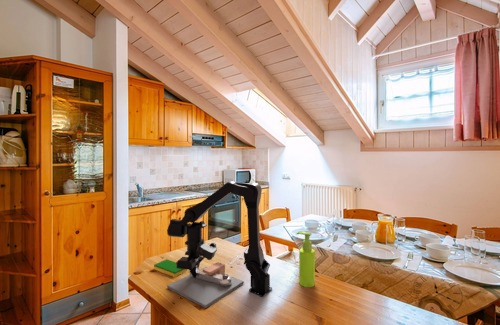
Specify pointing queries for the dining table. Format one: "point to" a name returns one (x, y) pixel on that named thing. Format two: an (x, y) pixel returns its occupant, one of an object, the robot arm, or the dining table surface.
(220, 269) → the block
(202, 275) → the lever
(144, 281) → the dining table surface
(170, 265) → the dish sponge
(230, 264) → the butter knife
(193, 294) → the base plate
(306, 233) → the soap dispenser
